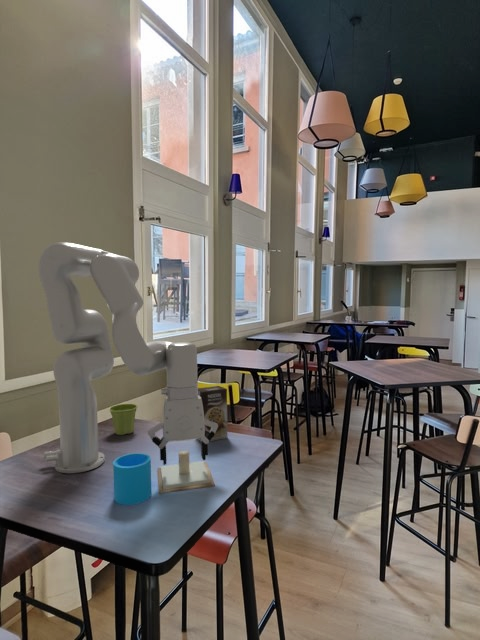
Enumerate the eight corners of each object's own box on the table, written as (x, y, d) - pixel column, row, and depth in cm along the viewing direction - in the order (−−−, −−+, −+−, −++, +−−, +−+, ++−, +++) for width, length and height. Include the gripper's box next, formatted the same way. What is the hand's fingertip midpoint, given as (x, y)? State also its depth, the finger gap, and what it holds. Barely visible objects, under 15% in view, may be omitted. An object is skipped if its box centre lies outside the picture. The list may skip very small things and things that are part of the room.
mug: (157, 496, 85) (156, 460, 84) (122, 509, 79) (121, 471, 79) (136, 478, 94) (135, 445, 94) (103, 488, 89) (102, 454, 88)
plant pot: (104, 436, 125) (103, 410, 124) (118, 427, 134) (117, 403, 134) (130, 437, 123) (129, 411, 123) (142, 428, 132) (142, 403, 132)
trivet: (158, 493, 86) (158, 491, 86) (157, 469, 98) (157, 467, 98) (214, 485, 89) (214, 484, 89) (206, 463, 101) (206, 462, 101)
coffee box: (202, 443, 116) (200, 392, 116) (194, 437, 122) (193, 388, 122) (228, 438, 121) (227, 388, 120) (220, 432, 126) (219, 384, 126)
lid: (163, 489, 87) (162, 464, 87) (160, 469, 97) (160, 447, 97) (210, 482, 90) (209, 458, 89) (202, 464, 100) (202, 442, 100)
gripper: (146, 398, 87) (148, 471, 88) (219, 393, 91) (221, 462, 92) (146, 391, 94) (148, 458, 95) (214, 386, 98) (215, 450, 99)
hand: (184, 460), depth 93 cm, fingers open, 9 cm apart
